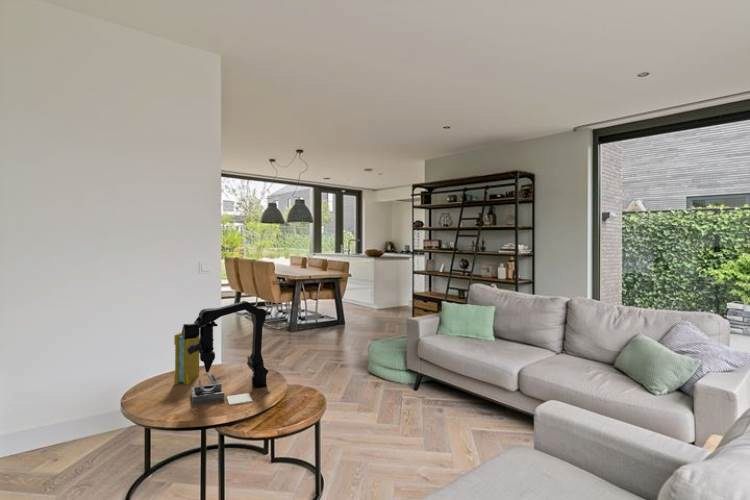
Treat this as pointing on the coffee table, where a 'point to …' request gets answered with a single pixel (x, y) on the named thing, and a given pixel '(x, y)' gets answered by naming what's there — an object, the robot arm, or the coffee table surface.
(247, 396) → the pad
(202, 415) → the coffee table surface
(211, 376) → the watch
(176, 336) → the book
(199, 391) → the grey u-shaped piece
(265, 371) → the robot arm
